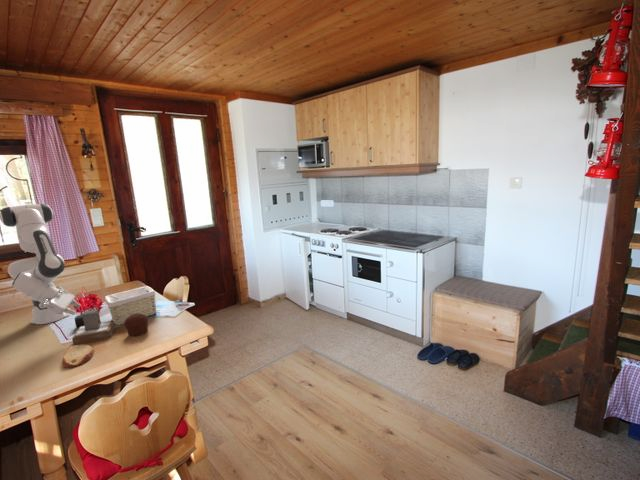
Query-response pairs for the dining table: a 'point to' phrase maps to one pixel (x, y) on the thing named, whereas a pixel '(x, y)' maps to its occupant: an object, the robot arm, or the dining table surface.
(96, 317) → the block
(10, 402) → the dining table surface
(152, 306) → the storage basket
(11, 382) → the dining table surface
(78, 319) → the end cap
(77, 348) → the slice of bread
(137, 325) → the muffin
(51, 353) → the dining table surface
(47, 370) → the dining table surface
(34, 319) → the robot arm
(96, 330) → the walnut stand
